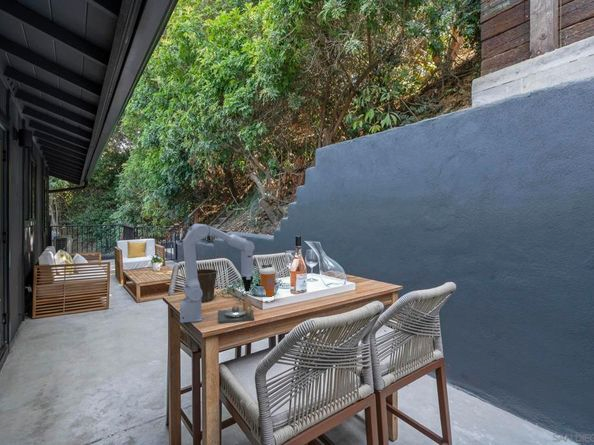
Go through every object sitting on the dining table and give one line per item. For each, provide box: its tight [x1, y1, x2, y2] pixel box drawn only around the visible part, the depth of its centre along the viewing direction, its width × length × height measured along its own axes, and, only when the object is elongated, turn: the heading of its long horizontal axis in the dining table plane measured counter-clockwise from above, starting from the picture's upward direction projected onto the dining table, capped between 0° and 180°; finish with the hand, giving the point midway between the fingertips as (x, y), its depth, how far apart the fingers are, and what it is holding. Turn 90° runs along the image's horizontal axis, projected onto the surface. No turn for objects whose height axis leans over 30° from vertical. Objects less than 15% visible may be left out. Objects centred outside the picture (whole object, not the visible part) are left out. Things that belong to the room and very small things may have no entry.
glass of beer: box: [259, 263, 277, 297], centre depth 179 cm, size 9×9×20 cm
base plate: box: [217, 309, 256, 325], centre depth 152 cm, size 16×16×1 cm
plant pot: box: [197, 268, 218, 303], centre depth 182 cm, size 16×16×16 cm
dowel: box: [247, 307, 250, 317], centre depth 149 cm, size 2×2×4 cm
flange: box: [225, 299, 252, 317], centre depth 153 cm, size 14×10×4 cm
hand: (247, 291), depth 163 cm, fingers closed
